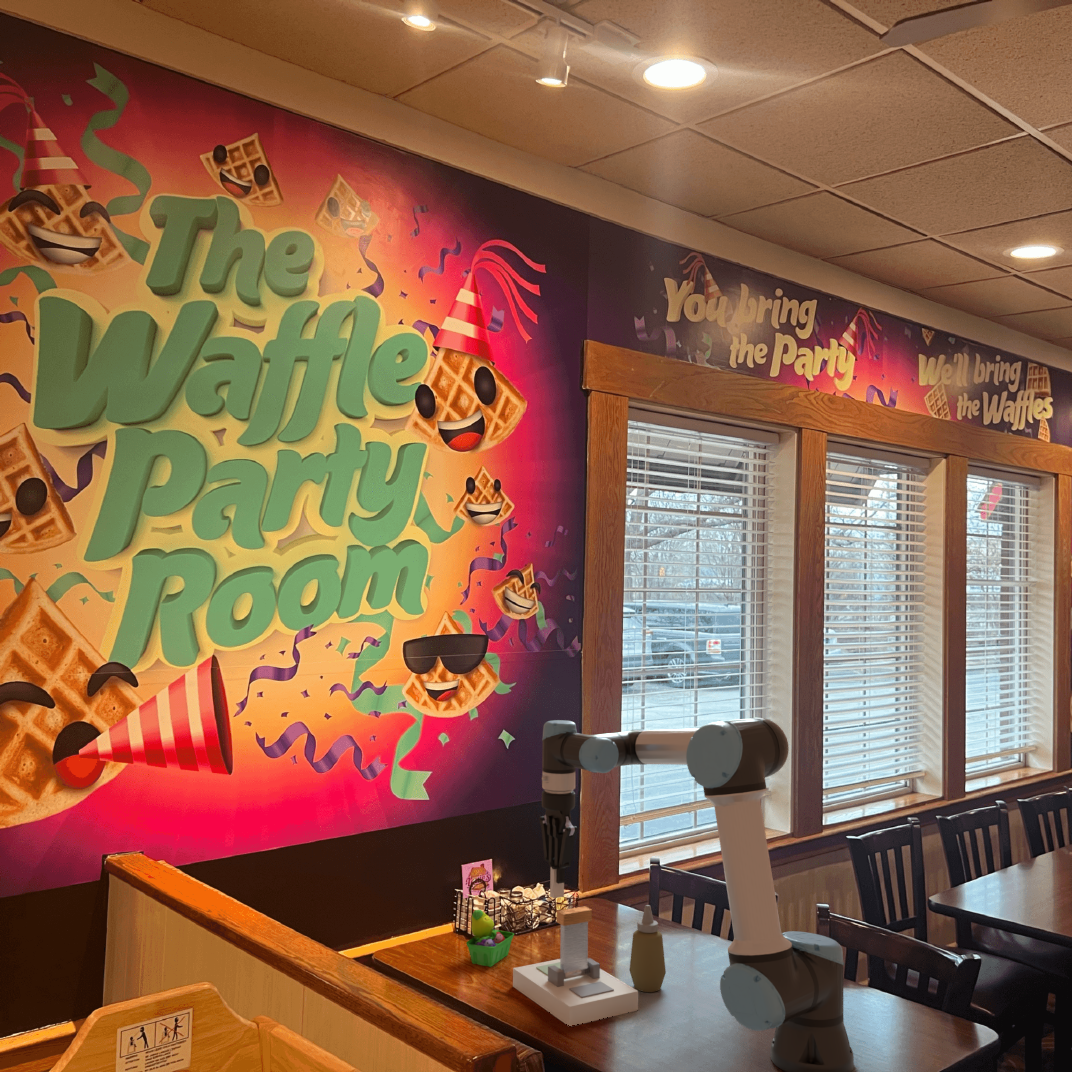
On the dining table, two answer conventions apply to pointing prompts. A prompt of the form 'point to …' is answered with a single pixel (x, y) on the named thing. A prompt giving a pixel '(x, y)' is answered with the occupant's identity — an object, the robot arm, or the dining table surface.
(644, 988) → the squeeze bottle
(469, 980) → the dining table surface
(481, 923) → the fruit basket
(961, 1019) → the dining table surface
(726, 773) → the robot arm
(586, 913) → the lever
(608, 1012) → the switch panel
